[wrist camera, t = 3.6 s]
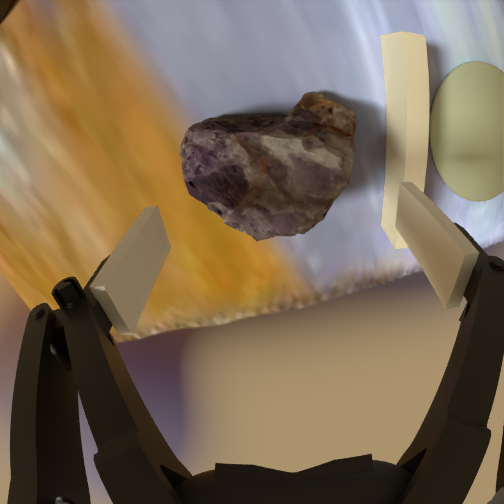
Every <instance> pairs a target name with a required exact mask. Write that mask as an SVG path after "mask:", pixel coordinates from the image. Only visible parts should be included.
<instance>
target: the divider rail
mask: <svg viewBox="0 0 504 504" xmlns="http://www.w3.org/2000/svg"><path fill="white" fill-rule="evenodd" d="M380 39H381V47H382V56H383V67H384V80H385V98H386V166H385V186H384V200H383V211H382V222H381V226H382V228H383V229H384V231H385V233H386V234H387V236H388V238H389V239H390V241H391V243H392V244H393V246H394V248H395V249H400V248H409V247H408V245H407V244H406V242H405V241H404V239H403V238H402V236H401V235H400V233H399V232H398V230H397V229H396V227H395V222H396V214H397V205H398V194H399V182H412V183H413V184H414V185H415V186H417V187H418V188H419V189H420V190H421V191H422V192H423V193H424V186H425V177H426V167H427V155H428V139H429V75H428V60H427V49H426V40H425V36H424V35H419V34H414V33H408V32H403V31H400V32H395V33H390V34H385V35H381V36H380Z"/></svg>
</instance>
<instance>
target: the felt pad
mask: <svg viewBox="0 0 504 504" xmlns="http://www.w3.org/2000/svg"><path fill="white" fill-rule="evenodd" d="M429 139H430V148H431V152H432V157H433V160H434V163H435V166H436V168H437V171H438V173H439V175H440V176H441V178H442V180H443V181H444V182H445V184H446V185H447V186H448V187H449V188H450V189H451V190H452V191H453V192H454V193H455V194H457V195H458V196H460V197H462V198H464V199H466V200H470V201H477V202H479V201H486V200H489V199H492V198H494V197H496V196H497V195H499V194H501V193H502V192H503V191H504V73H503V72H502V71H501V70H500V69H498V68H497V67H495V66H493V65H490V64H487V63H483V62H467V63H464V64H461V65H459V66H457V67H456V68H454V69H453V70H452V71H451V72H450V73H449V74H448V75H447V76H446V77H445V78H444V80H443V81H442V83H441V85H440V86H439V88H438V90H437V93H436V95H435V97H434V101H433V104H432V109H431V114H430V123H429Z"/></svg>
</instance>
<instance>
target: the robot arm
mask: <svg viewBox="0 0 504 504" xmlns="http://www.w3.org/2000/svg"><path fill="white" fill-rule="evenodd" d="M13 1H14V0H0V21H1V20H2V19H3V17H4V16H5V14H6V13H7V11H8V10H9V8H10V6H11V5H12V3H13ZM395 227H396V229H397V230H398V232H399V233H400V235H401V236H402V238H403V239H404V241H405V242H406V244H407V245H408V247H409V248H410V250H411V251H412V253H413V255H414V256H415V258H416V259H417V261H418V263H419V264H420V266H421V267H422V269H423V271H424V272H425V274H426V276H427V277H428V279H429V281H430V283H431V284H432V286H433V288H434V290H435V291H436V293H437V295H438V297H439V299H440V300H441V302H442V304H443V306H444V308H445V309H449V308H453V307H458V306H459V305H460V303H461V300H462V298H463V296H464V297H465V298H466V300H467V304H466V306H465V308H464V311H463V313H462V315H461V317H460V319H459V321H461V324H460V328H459V331H458V334H457V338H456V341H455V344H454V347H453V350H452V353H451V356H450V359H449V362H448V365H447V367H446V370H445V373H444V375H443V378H442V381H441V383H440V385H439V388H438V391H437V393H436V395H435V397H434V400H433V402H432V404H431V406H430V408H429V411H428V413H427V415H426V417H425V419H424V421H423V423H422V425H421V427H420V429H419V431H418V433H417V435H416V437H415V438H414V440H413V442H412V444H411V445H410V446H409V448H408V449H407V450H406V452H405V453H404V454H403V455H402V457H401V459H400V460H399V461H398V463H397V464H396V465H395V464H392V463H388V462H384V461H378V460H372V454H368V455H362V456H357V457H351V458H344V459H337V460H333V461H330V462H327V463H324V464H321V465H319V466H315V467H313V468H309V469H306V470H303V471H299V472H295V473H290V472H284V471H280V470H274V469H270V468H264V467H261V466H256V465H243V464H222V463H216V464H215V470H210V471H206V472H202V473H200V474H197V475H194V476H192V475H191V473H190V472H189V471H188V470H187V469H186V467H184V465H183V464H182V463H181V462H180V461H179V460H178V459H177V458H176V456H175V455H174V453H173V452H172V450H171V448H170V447H169V445H168V444H167V442H166V441H165V439H164V437H163V436H162V434H161V432H160V431H159V429H158V427H157V426H156V424H155V422H154V420H153V419H152V417H151V415H150V413H149V411H148V410H147V408H146V406H145V404H144V402H143V400H142V398H141V397H140V395H139V393H138V391H137V389H136V387H135V385H134V383H133V381H132V379H131V377H130V374H129V372H128V370H127V368H126V366H125V364H124V362H123V360H122V357H121V355H120V353H119V351H118V348H117V346H116V343H115V341H114V338H113V336H112V335H111V333H110V332H109V331H110V329H111V327H112V325H113V327H114V328H115V330H116V331H117V333H118V334H127V335H133V332H134V330H135V327H136V325H137V323H138V320H139V318H140V315H141V313H142V311H143V308H144V306H145V303H146V301H147V299H148V297H149V294H150V292H151V290H152V287H153V285H154V283H155V281H156V278H157V276H158V274H159V272H160V270H161V268H162V265H163V263H164V261H165V259H166V257H167V255H168V253H169V250H170V248H171V246H170V243H169V240H168V237H167V234H166V231H165V228H164V225H163V222H162V219H161V215H160V212H159V209H158V206H153V207H147V208H145V209H144V210H143V211H142V213H141V214H140V215H139V217H138V218H137V219H136V221H135V222H134V223H133V225H132V226H131V227H130V229H129V230H128V231H127V233H126V234H125V235H124V237H123V238H122V239H121V241H120V242H119V244H118V245H117V246H116V248H115V249H114V251H113V252H112V254H111V255H109V256H108V257H107V258H106V259H104V260H103V261H102V262H101V264H100V265H99V267H98V268H97V270H96V271H95V272H94V274H93V276H92V277H91V278H90V280H89V281H88V283H87V285H86V286H85V288H84V289H82V287H81V286H80V284H79V282H78V280H77V279H76V277H67V278H65V279H63V280H62V281H60V282H59V283H58V284H57V285H56V286H55V287H54V289H53V290H52V296H53V297H54V299H55V300H56V302H57V304H58V305H59V307H60V309H57V310H53V311H52V309H51V308H50V306H49V305H48V304H47V303H42V304H40V305H37V306H36V307H34V308H33V309H32V311H31V312H30V314H29V317H28V320H27V323H26V328H25V332H24V336H23V340H22V345H21V350H20V354H19V360H18V365H17V371H16V378H15V384H14V393H13V401H12V413H11V429H10V467H11V481H10V487H9V494H8V503H7V504H91V503H90V494H89V487H88V482H87V476H86V471H85V465H84V458H83V451H82V444H81V434H80V423H79V409H78V391H79V395H80V399H81V402H82V405H83V409H84V412H85V415H86V418H87V421H88V424H89V426H90V429H91V432H92V435H93V437H94V440H95V442H96V445H97V448H98V453H96V454H95V455H94V462H95V466H96V469H97V471H98V473H99V475H100V478H101V480H102V482H103V484H104V486H105V488H106V490H107V492H108V494H109V497H110V499H111V500H112V502H113V504H462V503H463V502H464V500H465V498H466V496H467V494H468V492H469V490H470V488H471V486H472V484H473V481H474V479H475V477H476V475H477V473H478V470H479V468H480V465H481V463H482V461H483V458H484V455H485V453H486V450H487V448H488V445H489V442H490V438H491V430H489V429H488V428H487V422H488V419H489V415H490V412H491V409H492V405H493V401H494V397H495V394H496V389H497V385H498V380H499V376H500V371H501V366H502V361H503V355H504V261H503V260H502V259H500V258H498V257H496V256H488V255H487V254H486V253H485V252H484V250H483V249H482V248H481V247H480V246H479V245H478V243H477V242H476V241H474V239H473V238H472V237H471V236H470V234H469V233H468V232H467V231H466V230H465V229H464V228H463V227H461V226H460V225H458V224H457V223H453V222H452V221H451V220H450V219H449V218H448V217H447V216H446V215H445V214H444V213H443V212H442V211H441V210H440V209H439V208H438V207H437V206H436V205H435V204H434V203H433V202H432V201H431V200H430V199H429V198H428V197H427V196H426V195H425V194H424V193H423V192H422V191H421V190H420V189H419V188H418V187H417V186H415V185H414V184H413V183H412V182H399V194H398V205H397V214H396V222H395ZM51 351H52V352H51ZM487 504H504V427H503V437H502V445H501V452H500V459H499V465H498V471H497V481H496V494H495V495H494V497H493V498H492V500H491V501H489V502H488V503H487Z"/></svg>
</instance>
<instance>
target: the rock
mask: <svg viewBox="0 0 504 504" xmlns="http://www.w3.org/2000/svg"><path fill="white" fill-rule="evenodd" d="M355 120H356V119H355V112H354V111H352V110H351V109H350V108H348V107H346V106H343V105H340V104H338V103H335V102H333V101H330V100H328V99H326V98H325V97H324V95H323V94H321V93H316V92H309V93H305V94H304V95H303V97H302V99H301V100H300V101H299V102H298V103H297V105H296V106H295V107H294V108H293V109H292V110H290V111H289V112H288V114H287V115H286V116H281V117H280V116H278V117H266V116H264V115H258V114H256V115H252V116H249V117H245V118H242V117H233V116H221V117H217V118H215V117H214V118H209V119H206V120H204V121H202V122H200V123H196V124H194V125H192V126H191V127H189V128H188V131H187V132H186V134H185V137H184V139H183V141H182V144H181V148H180V154H179V155H180V156H181V158H182V169H183V177H184V181H185V184H186V186H187V189H188V192H189V194H190V195H191V196H193V197H194V198H196V199H197V200H199V201H201V202H202V203H204V204H205V205H207V207H208V209H209V210H210V211H213V212H215V213H216V214H218V215H219V216H221V217H222V219H223V221H224V223H225V224H227V225H228V226H230V227H232V228H234V229H236V230H239V231H241V232H244V233H246V234H248V235H250V236H252V237H253V238H254V239H255V240H256V241H260V240H264V239H268V238H271V237H275V236H294V235H296V234H298V233H299V234H305V233H306V232H307V231H309V230H310V229H312V228H313V227H314V226H315V225H316V224H317V223H318V222H320V221H322V220H323V219H324V218H325V216H326V214H327V212H328V210H329V209H330V207H331V206H332V204H333V201H334V200H335V199H336V198H337V197H338V196H339V195H340V193H341V192H342V190H343V188H344V187H345V186H346V185H347V184H349V180H350V176H351V172H352V168H353V161H354V156H353V152H354V133H355Z"/></svg>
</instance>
